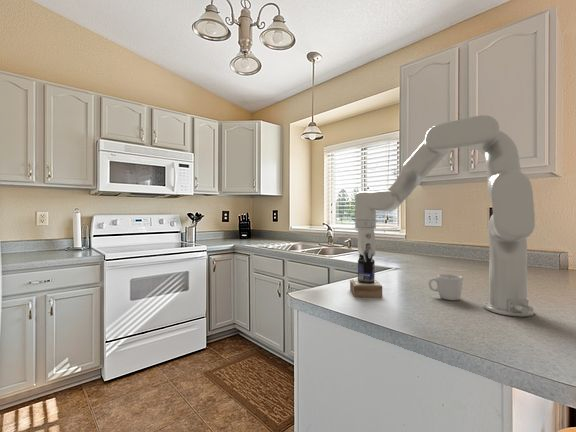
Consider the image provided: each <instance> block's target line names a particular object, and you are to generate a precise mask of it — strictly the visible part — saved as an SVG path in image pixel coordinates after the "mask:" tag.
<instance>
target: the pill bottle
mask: <svg viewBox="0 0 576 432" xmlns="http://www.w3.org/2000/svg"><path fill="white" fill-rule="evenodd" d="M360 257H361V258H360V259H359V258H358V259H357V280H358V281H359V282H361V283H367V284H371V283H374V280H376V279H375V278H376V277H375V276H376V275H375V260H374V259H373V273H364V272H363V262H364V256H363V255H361V254H360ZM373 257H374V256H373V254H372V258H373Z"/></svg>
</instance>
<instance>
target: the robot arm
mask: <svg viewBox="0 0 576 432" xmlns="http://www.w3.org/2000/svg"><path fill="white" fill-rule="evenodd" d="M428 129H429V130H427V131H426V134H425V137H424V140H423V142H422V143H421V144H420V145H419V146H418V147H417V148H416V150H415V151H414V152H413V153H412V154H411V155H410V157H409V158H408V159H406V161H405V162H404V163H403V165H402V168H401V170H400V172H399V175H398V176H397V178H396V179H395V180H394V182H392V184H391V186H389V187H388V188H387V189H384V190H378V191H358V192H356V193H355V197H354V198H355V199H354V200H355V202H354V204H355V205H354V209H355V210H354V212H355V213H354V215H355V218H354V219H355V220H354V221H355V222H354V228H355V229H357V251H358V256H359V257H358V260H359V259H360V258H361V257H360V254H361V255H363V256H364V262H363V272H364V273H373V260H374V259H373V257H374V256H376V236H375V235H376V234H375V229H376V228H377V211H381V212H391V211H392V212H393V211H394V210H396V209H397V208H398V207H400V206H401V205H402V203H403V202H405V200H406V199H407V198H408V197H409V196H410V195H411V194H412V193H413V191H415V189H416V188H417V187H418V186H419V185H420V184H421V183H422V182H423V180H424V179H425V178H426V177H427V176H428V174H430V173H431V172H432V170H433V169H434V168H435V167H436V166H437V165H438V164H439V163H440V162H441V161H442V160H443V159H444V158H445V157H446V156H447V154H449V153H450V152H451V150H452V149H459V148H465V147H466V148H467V147H469V148H470V149H472V150H475V151H478V152H480V153H481V154H482V155H483V157H484V161H485V167H486V175H487V179H486V180H487V195H488V197H489V198H490V199H491V207H492V208H491V209H492V215H490V218H489V220H488V241H489V242H488V243H489V245H488V246H489V248H488V249H489V263H488V264H489V265H488V266H489V269H488V271H489V273H488V280H489V283H488V284H489V285H488V286H489V288H488V289H489V291H488V298H489V299H488V300H487V301H485V302H483V308H484V309H486V310H487V311H489V312H492V313H495V314H500V315H505V316H510V317H531V316H533V315H534V311H535V310H534V307H532V306H530V305H529V300H528V243H527V242H528V241H527V240H528V239H527V238H529V237H530V236H532V234H533V233H534V230H535V227H536V218H535V215H536V213H535V204H534V193H533V186H532V183H531V180H530V179H529V177H528V176H527V175H526V174H525V173H524V172H522V171H521V163H520V155H519V150H518V147H517V145H516V143H515V141H514V140H513V139H512V138H511V137H510V136H509V135H508V134H506V133H505V132H504V131H501V130H500V124H499V122H498V120H497V119H496V118H495V117H493V116H490V115H484V114H483V115H482V114H481V115H476V116H471V117H470V116H469V117H466V118H461V119H455V120H452V121H447V122H442V123H440V124H439V123H437V124H436V125H433V126H432V127H430V128H428ZM372 254H373V257H372Z"/></svg>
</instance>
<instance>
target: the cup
mask: <svg viewBox="0 0 576 432" xmlns="http://www.w3.org/2000/svg"><path fill="white" fill-rule="evenodd" d="M463 280H464V278H463V276H461V275H459V274H454V273H453V274H452V273H440V274H437V277H431V278H430V279H429V280H428V287H429V289H430V290H431V291H434V292H438V294H439V297H440V298H441V299H444V300H447V301H458V300H460V299H461V295H462V287H463ZM433 281H435V282H436V287H433V286H432V282H433Z"/></svg>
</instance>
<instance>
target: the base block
mask: <svg viewBox="0 0 576 432" xmlns="http://www.w3.org/2000/svg"><path fill="white" fill-rule="evenodd" d="M349 285H350V286H349V289H350V293H351V294H352V295H353V296H352V297H354V298H383V286H382V284H381V283H380V282H379V281H377V280H376V279H375V280H374V283H371V284H367V283H361V282H359V281H358V279H350V280H349Z"/></svg>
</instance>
